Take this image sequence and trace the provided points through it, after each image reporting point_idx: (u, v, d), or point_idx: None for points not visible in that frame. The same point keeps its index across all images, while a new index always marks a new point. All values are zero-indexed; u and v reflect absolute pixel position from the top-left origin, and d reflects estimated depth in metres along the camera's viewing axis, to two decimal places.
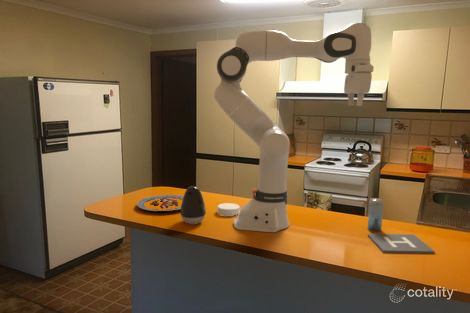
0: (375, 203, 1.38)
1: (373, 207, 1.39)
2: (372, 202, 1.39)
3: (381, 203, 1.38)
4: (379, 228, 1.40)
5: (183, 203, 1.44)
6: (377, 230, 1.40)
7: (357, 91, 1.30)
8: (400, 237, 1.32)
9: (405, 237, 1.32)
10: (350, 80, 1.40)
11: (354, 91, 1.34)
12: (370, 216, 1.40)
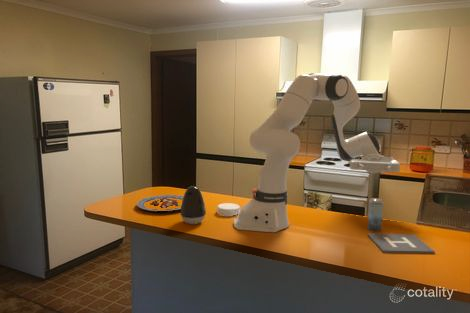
0: (375, 203, 1.38)
1: (373, 207, 1.39)
2: (372, 202, 1.39)
3: (381, 203, 1.38)
4: (379, 228, 1.40)
5: (183, 203, 1.44)
6: (377, 230, 1.40)
7: (393, 163, 1.53)
8: (400, 237, 1.32)
9: (405, 237, 1.32)
10: (366, 161, 1.60)
11: (384, 163, 1.54)
12: (370, 216, 1.40)
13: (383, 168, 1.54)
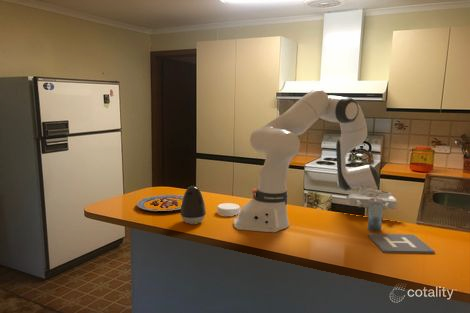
0: (375, 203, 1.38)
1: (373, 207, 1.39)
2: (372, 202, 1.39)
3: (381, 203, 1.38)
4: (379, 228, 1.40)
5: (183, 203, 1.44)
6: (377, 230, 1.40)
7: (391, 200, 1.53)
8: (400, 237, 1.32)
9: (405, 237, 1.32)
10: (364, 196, 1.61)
11: (382, 199, 1.54)
12: (370, 216, 1.40)
13: None
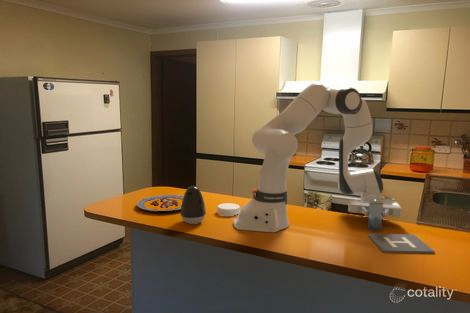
0: (375, 203, 1.38)
1: (373, 207, 1.39)
2: (372, 202, 1.39)
3: (381, 203, 1.38)
4: (379, 228, 1.40)
5: (183, 203, 1.44)
6: (377, 230, 1.40)
7: (395, 207, 1.43)
8: (400, 237, 1.32)
9: (405, 237, 1.32)
10: (366, 202, 1.50)
11: (385, 206, 1.44)
12: (370, 216, 1.40)
13: None
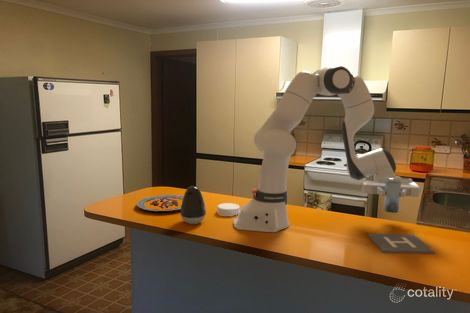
0: (392, 182, 1.28)
1: (391, 186, 1.29)
2: (389, 181, 1.29)
3: (399, 182, 1.28)
4: (397, 209, 1.30)
5: (183, 203, 1.44)
6: (394, 211, 1.29)
7: (413, 187, 1.33)
8: (400, 237, 1.32)
9: (405, 237, 1.32)
10: (381, 183, 1.40)
11: (403, 186, 1.34)
12: (387, 196, 1.30)
13: None
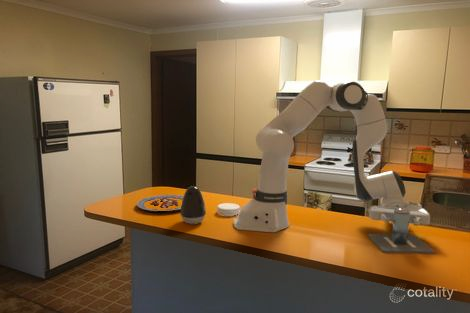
0: (401, 213, 1.24)
1: (399, 217, 1.24)
2: (398, 212, 1.24)
3: (408, 213, 1.24)
4: (405, 241, 1.25)
5: (183, 203, 1.44)
6: (403, 243, 1.25)
7: (422, 214, 1.28)
8: None
9: None
10: (389, 208, 1.35)
11: (411, 213, 1.29)
12: (395, 227, 1.26)
13: (410, 219, 1.30)
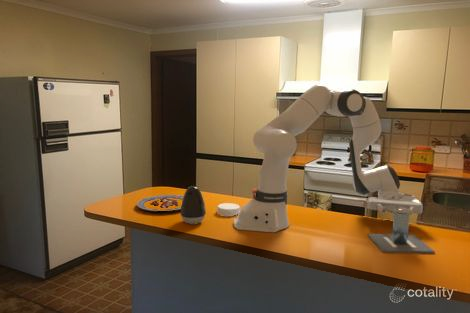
0: (401, 213, 1.24)
1: (399, 217, 1.24)
2: (397, 212, 1.24)
3: (408, 213, 1.24)
4: (405, 241, 1.25)
5: (183, 203, 1.44)
6: (403, 243, 1.25)
7: (415, 204, 1.40)
8: None
9: None
10: (385, 199, 1.47)
11: (406, 203, 1.41)
12: (395, 227, 1.26)
13: None
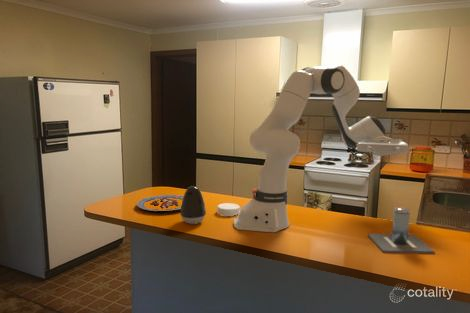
0: (401, 213, 1.24)
1: (399, 217, 1.24)
2: (397, 212, 1.24)
3: (408, 213, 1.24)
4: (405, 241, 1.25)
5: (183, 203, 1.44)
6: (403, 243, 1.25)
7: (402, 144, 1.51)
8: None
9: None
10: (374, 143, 1.58)
11: (393, 144, 1.52)
12: (395, 227, 1.26)
13: (391, 150, 1.52)
